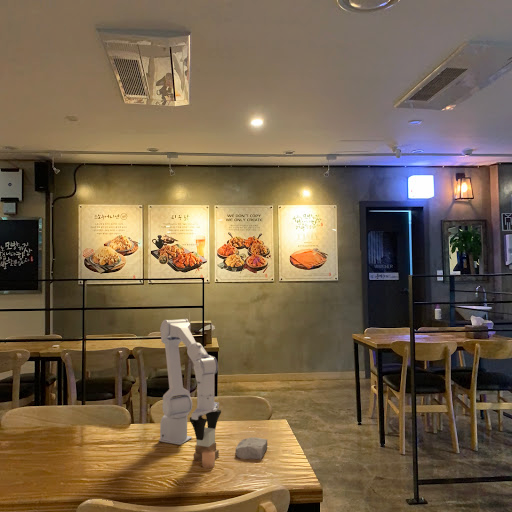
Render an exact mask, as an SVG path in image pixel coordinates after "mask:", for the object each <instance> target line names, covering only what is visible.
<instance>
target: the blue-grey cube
mask: <svg viewBox="0 0 512 512" xmlns="http://www.w3.org/2000/svg"><path fill="white" fill-rule="evenodd" d="M195 439H196V438H195ZM195 441H196V444H195V445H199V446H205V447H209V446H211V445H212V444H214V443H215V442H216V429H214V428H208V427H207V426H205V428H204V437H203V440H197V439H196V440H195Z"/></svg>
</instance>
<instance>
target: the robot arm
mask: <svg viewBox="0 0 512 512" xmlns="http://www.w3.org/2000/svg"><path fill="white" fill-rule="evenodd" d="M160 324H161V325H160V327H159V332H160V339H161V343H162V344H163V345H164V347H165V356H166V369H167V377H168V388H169V389H168V390H167V391H166V392H165V393H164V394H163V396H162V404H161V405H162V407H161V408H162V412H163V414H164V415H163V416H161V419H160V423H159V424H160V427H159V429H160V430H159V431H160V433H159V435H160V436H159V437H160V438H159V439H158V442H160V443H161V442H162V443H167V444H172V445H178V446H179V445H183V444H184V443H186V442H187V441H189V440H192V438H193V437H192V436H190V435H188V416H189V415H190V413H191V416H190V417H189V422H190V423H191V425H192V428H193V430H194V435H195V439H197V440H203V437H204V428H205V427H207V428H214V429H215V430H216V427H217V425H218V424H217V423H218V421H219V417H221V416H220V415H221V413H222V410H221V409H219V408H220V402H216V401H215V375H216V374H217V373H218V370H219V363H218V360H217V358H216V357H215V356H213V355H210V354H208V352H207V350H206V349H205V348H204V346H203V345H202V344H201V343H200V342H197V341H196V340H195V338H194V337H195V336H194V335H193V334H192V332H191V323H190V321H189V319H188V318H181V319H164V320H162V322H161V323H160ZM181 342H182V343H183V345H184V346H185V347H186V348H187V349H186V350H187V351H186V353H187V356H188V357H189V359H190V360H191V362H192V364H193V365H194V366H193V371H194V375H195V380H196V383H197V384H196V386H197V388H196V389H197V390H196V391H197V392H196V396H197V397H196V400H197V401H196V403H197V404H196V406H197V407H196V408H195V410H194V411H193V412H192V410H193V400H192V398H191V394H190V393H191V392H190V391H189V390H188V389H186V388H184V385H183V384H184V383H183V373H182V366H181V356H180V355H181V354H180V348H179V345H180V343H181ZM204 415H205V417H206V418H204V417H203V416H204ZM206 423H207V426H206Z"/></svg>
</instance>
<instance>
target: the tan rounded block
mask: <svg viewBox="0 0 512 512" xmlns="http://www.w3.org/2000/svg"><path fill="white" fill-rule="evenodd" d="M201 466H202V468H204V469H213V468H215V466H216V459H215V452H214V451H211V450H208V451H204V452H202V461H201Z"/></svg>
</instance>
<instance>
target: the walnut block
mask: <svg viewBox="0 0 512 512" xmlns="http://www.w3.org/2000/svg"><path fill="white" fill-rule="evenodd" d="M194 448H195V451H194V453H198V454H202V452H204V451H208V450H211V451H216V450H217V442H216V441H215V443H214V444H212V445H211V446H209V447H205V446H199V445H196V444H195V445H194Z"/></svg>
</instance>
